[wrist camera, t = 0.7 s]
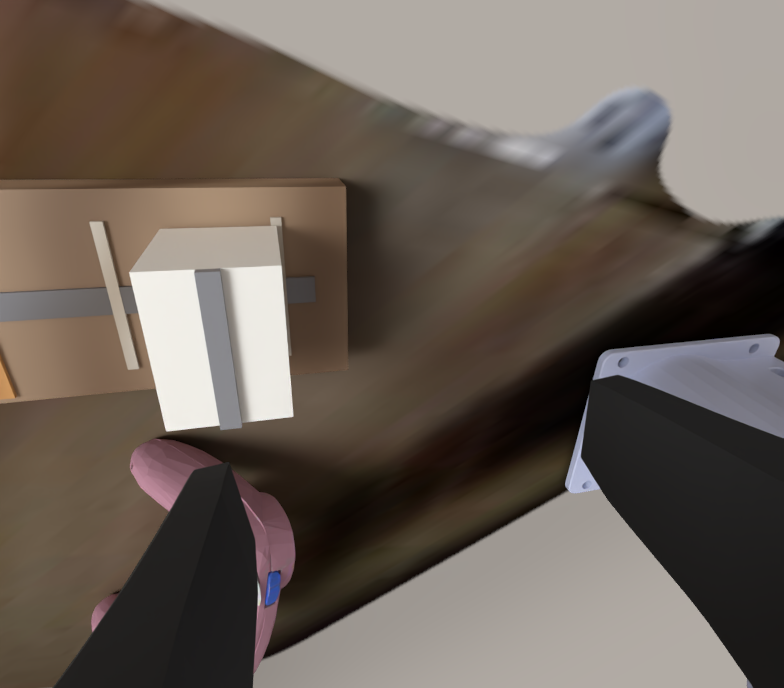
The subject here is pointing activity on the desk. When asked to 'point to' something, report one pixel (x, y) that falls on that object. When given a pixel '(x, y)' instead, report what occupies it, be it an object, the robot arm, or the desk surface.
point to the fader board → (120, 253)
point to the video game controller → (267, 518)
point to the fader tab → (215, 325)
